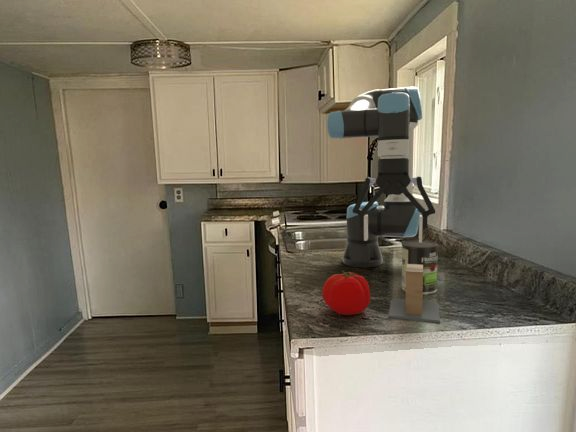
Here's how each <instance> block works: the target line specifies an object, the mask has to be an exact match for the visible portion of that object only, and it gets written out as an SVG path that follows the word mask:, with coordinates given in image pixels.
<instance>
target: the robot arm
mask: <svg viewBox="0 0 576 432" xmlns="http://www.w3.org/2000/svg"><path fill="white" fill-rule="evenodd" d="M422 119H423V111H422V100H421V94H420V89H419V88H418V87H416V86H403V87H394V88H393V87H392V88H384V89H373V90H370V91H366V92H364V93H362V94H359V95H358V96H356V97H354V98H353V99H352V100H351V101H350V103H349V106H348V107H347V108H346V109H344V110H337V111H330V113H328V115H327V120H326V121H327V122H326V123H327V124H326V125H327V128H326V129H327V134H328V137H330V138H331V139H340V140H342V139H352V138H366V137H367V138H369V137H370V138H371V137H374V138H375V137H377V157H379V159H378V160H377V176H376V178H373V177H370V176H368V177H365V180H364V186H363V188H362V190H361V193H360V195H359V196H358V199H357V201H356V203H353V204H350V205H349V206H348V207H347V209H346V217H345V218H346V244H345V248H344V252H343V254H342V264H344V265H346V266H348V267H355V268H375V267H379V266H381V265H382V264H383V262H384V260H383V255H382V252H381V248H380V246H379V245H380V244H379V237H385V238H386V237H389V238H390V237H391V238H402V239H403V238H414V237H415V236H416V235H417V234H418V240H419V243H422V241H423V230H426V229H427V228H428V217H429V216H430V215H434V214H436V209H435V207H434V205H433V204H432V203H433V202H431V199H430V198H429V195H428V194H427V191H426V189H425V188H424V186H423V180H422V179H423V178H422V176H420V175H419V176H415V177H413V176H414V169H413V168H414V130H415V129H416V128H417V126H418V124H419V121H421V120H422ZM374 184H376V185H377V187H378V188H379V189H378V190H377V192H375V194H374V195H373V196H372V198H370V199H369V201H364V200H365V198H366V196H367V193H369V191H370V190H369V189H370V188H371V187H372V186H374ZM413 185H414V186H415V187H417V189H418V191H419V193H420V195H421V197H422V199H423V201H424V203H425V205H426V207H427V209H426V208H424V207H423V206H422V204H421V203H420V202H419V200H417V198H416V197H415V196H414V195H413ZM383 194H384V195H386V196H387V197H386V198H385V199H384V200H383V205H379V202H378V201H377V200H378V199H379V198H380V197H381V196H382V195H383Z"/></svg>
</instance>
